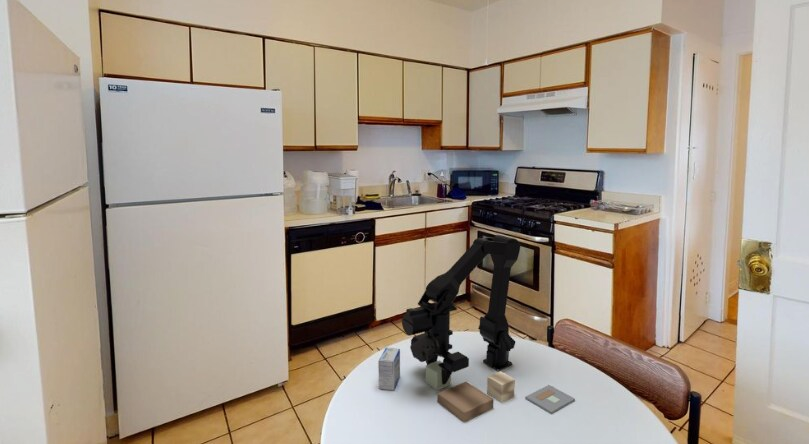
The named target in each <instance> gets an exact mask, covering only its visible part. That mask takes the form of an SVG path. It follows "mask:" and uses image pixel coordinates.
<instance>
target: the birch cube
mask: <svg viewBox="0 0 809 444" xmlns="http://www.w3.org/2000/svg"><path fill="white" fill-rule="evenodd" d="M515 383H516V379H515V378H514V377H511V375H510V376H509V375H508V374H506V373H504V372H502V371H500V370H499V371H498V372H495V373H493V374H491V375H489V376H487V383H486V384H487V387H486V395H488V396H490V397H491V398H493V399H494V400H496V401H498V402H500V403H503V402H506V401H507V400H509V399H511V398H513V397H514V396H515V387H516V386H515Z"/></svg>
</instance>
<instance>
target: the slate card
mask: <svg viewBox="0 0 809 444" xmlns="http://www.w3.org/2000/svg"><path fill="white" fill-rule="evenodd" d="M524 399H525V400H526V401H528V402H530V403H532V404H533V405H535V406H537V407H538V408H540V409H541V410H543V411H545V412H547V413H548V414H550V415H553V414H554V413H556V412H557V411H559V410H561V409H563V408H565V407H566V406H569V404H572V403H573V402H575V401H576V398H575V397H573V396H571V395H569V394H567V393H565V392H563V391H562V390H559V389H558V388H556V387H554V386H552V385H550V384H547V385H545V386H544V387H542V388H540V389H537V390H536V391H534V392H532V393H530V394H528V395H526V396H525V397H524Z"/></svg>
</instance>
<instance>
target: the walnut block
mask: <svg viewBox="0 0 809 444" xmlns="http://www.w3.org/2000/svg"><path fill="white" fill-rule="evenodd" d="M436 402H437V403H438V404H439V405H440V406H441V407H443V408H444V409H445V410H447V411H448V412H450V414H452V415H454V416H455V417H456V418H457V419H459V421H461V422H462V423H466V422H468V421H470V420H472V419H474V418H477V417H479V416H481V415H483V414H484V413H486V412H488V411H490V410H493V409H494V398H493V397H491V396H490V395H488V394H487V393H485V392H483V391H482V390H480V389H479V388H477V387H476V386H474V385H472V384H471V383H469V382H468V381H464V382H461V383H459V384H456V385H454V386H452V387H450V388H447V389H444V390H443V391H440V392H438V393H437V401H436Z"/></svg>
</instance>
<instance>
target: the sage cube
mask: <svg viewBox="0 0 809 444" xmlns="http://www.w3.org/2000/svg"><path fill="white" fill-rule="evenodd" d="M440 363H443V361H441V360H439V359H438V360H437V361H436V362H434V363H431V364H428V365H427V364H426V365H425V383H427V384H428V385H429V386H431V387H432V388H433V389H435V390H436V391H437V390H440V389H442V388H445V387H447V386H451V384H452V383H451V382H452V381H451V379H452V378H451V377H452V375H451V376H450V377H449V379H448V381H447V383H446V384H444V385H443V384H442V371H441V367H439V366H438V364H440Z"/></svg>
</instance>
